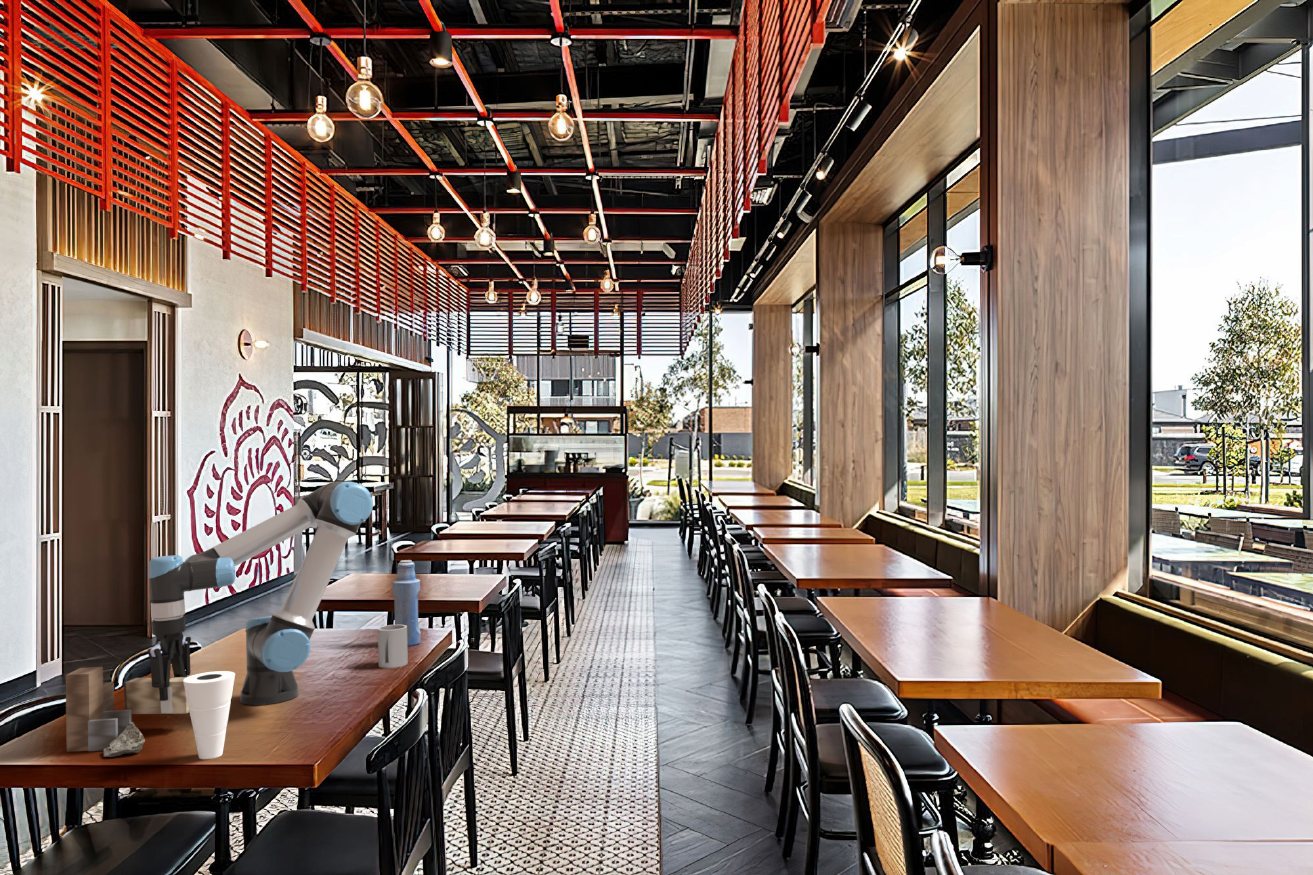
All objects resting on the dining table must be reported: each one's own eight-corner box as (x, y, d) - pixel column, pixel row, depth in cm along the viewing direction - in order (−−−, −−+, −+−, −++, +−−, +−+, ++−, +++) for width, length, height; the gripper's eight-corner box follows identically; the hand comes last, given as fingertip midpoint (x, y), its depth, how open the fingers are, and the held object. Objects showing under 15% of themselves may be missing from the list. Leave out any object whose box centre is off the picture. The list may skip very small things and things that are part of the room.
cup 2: (195, 767, 193) (193, 685, 193) (177, 756, 200) (175, 678, 200) (244, 754, 201) (243, 675, 201) (225, 744, 208) (223, 668, 208)
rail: (196, 708, 222) (195, 676, 222) (186, 713, 218) (184, 681, 218) (136, 708, 224) (134, 677, 224) (125, 714, 220) (123, 682, 220)
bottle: (395, 641, 318) (393, 559, 318) (423, 640, 319) (421, 558, 319) (390, 647, 308) (388, 562, 309) (418, 646, 309) (417, 561, 310)
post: (146, 727, 222) (145, 656, 223) (115, 749, 206) (114, 672, 206) (99, 730, 221) (98, 659, 221) (65, 752, 204) (64, 675, 204)
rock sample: (87, 739, 202) (120, 710, 205) (109, 751, 208) (142, 723, 211) (103, 766, 196) (137, 736, 199) (125, 778, 202) (158, 748, 205)
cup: (407, 659, 289) (406, 623, 290) (408, 666, 281) (407, 628, 281) (378, 662, 286) (377, 626, 287) (378, 669, 278) (378, 631, 278)
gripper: (176, 610, 229) (181, 699, 230) (130, 625, 213) (135, 721, 213) (203, 610, 229) (208, 698, 229) (159, 624, 212) (164, 720, 212)
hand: (173, 709), depth 221 cm, fingers closed on rail, 4 cm apart
